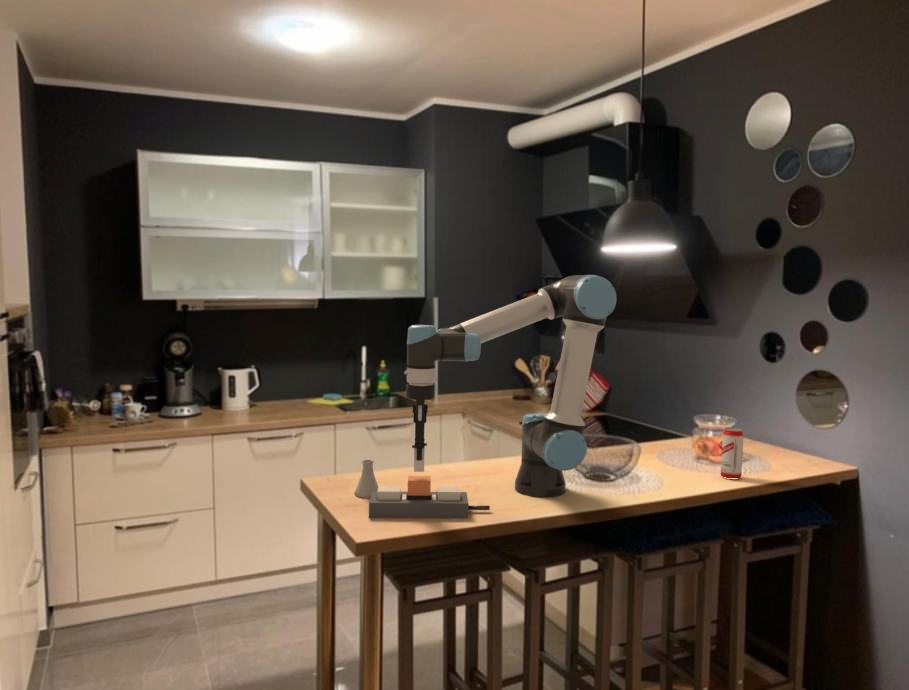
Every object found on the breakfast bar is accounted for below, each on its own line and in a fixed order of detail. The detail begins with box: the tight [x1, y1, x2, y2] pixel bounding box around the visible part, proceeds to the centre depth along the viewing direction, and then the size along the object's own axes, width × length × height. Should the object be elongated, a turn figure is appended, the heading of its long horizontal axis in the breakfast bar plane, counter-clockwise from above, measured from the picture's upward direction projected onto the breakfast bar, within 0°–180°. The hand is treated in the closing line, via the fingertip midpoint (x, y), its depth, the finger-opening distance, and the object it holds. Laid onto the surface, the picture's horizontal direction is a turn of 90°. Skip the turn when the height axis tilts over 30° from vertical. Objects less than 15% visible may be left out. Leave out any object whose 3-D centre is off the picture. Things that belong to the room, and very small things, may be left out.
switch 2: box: [407, 475, 431, 496], centre depth 191 cm, size 6×4×4 cm
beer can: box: [720, 427, 744, 479], centre depth 230 cm, size 6×6×16 cm
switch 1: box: [377, 486, 402, 500], centre depth 191 cm, size 6×4×4 cm
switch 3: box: [437, 486, 462, 500], centre depth 192 cm, size 6×4×4 cm
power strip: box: [368, 491, 491, 519], centre depth 192 cm, size 32×10×4 cm, turn 92°
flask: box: [353, 459, 379, 499], centre depth 206 cm, size 7×7×10 cm
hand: (419, 470), depth 191 cm, fingers closed
